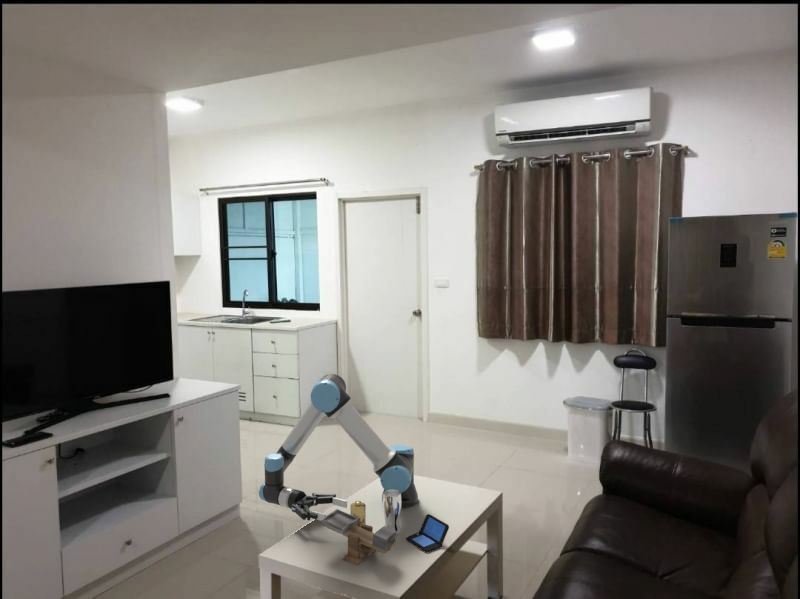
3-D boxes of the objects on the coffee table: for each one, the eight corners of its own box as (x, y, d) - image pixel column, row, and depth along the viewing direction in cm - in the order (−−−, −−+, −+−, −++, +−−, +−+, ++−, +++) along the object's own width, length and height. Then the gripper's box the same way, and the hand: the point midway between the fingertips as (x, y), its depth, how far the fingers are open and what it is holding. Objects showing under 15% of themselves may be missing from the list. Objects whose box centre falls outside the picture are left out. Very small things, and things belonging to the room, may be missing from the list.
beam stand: (362, 544, 216) (362, 521, 215) (376, 548, 213) (376, 525, 212) (343, 559, 205) (343, 536, 205) (357, 564, 202) (357, 540, 202)
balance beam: (336, 517, 219) (337, 503, 218) (396, 544, 207) (398, 529, 206) (320, 528, 211) (321, 513, 210) (381, 556, 199) (383, 541, 198)
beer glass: (403, 528, 228) (403, 490, 227) (397, 536, 221) (397, 497, 220) (386, 525, 230) (386, 487, 229) (380, 533, 224) (380, 495, 222)
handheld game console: (404, 540, 219) (404, 520, 219) (427, 531, 226) (427, 512, 225) (426, 554, 210) (426, 533, 209) (449, 545, 216) (449, 525, 215)
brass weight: (356, 528, 228) (355, 497, 227) (368, 532, 225) (368, 501, 224) (347, 535, 223) (347, 503, 222) (360, 538, 220) (360, 506, 219)
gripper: (312, 496, 250) (354, 508, 239) (271, 520, 228) (316, 534, 218) (312, 479, 249) (354, 490, 239) (271, 501, 228) (316, 514, 217)
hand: (336, 511), depth 228 cm, fingers open, 13 cm apart
